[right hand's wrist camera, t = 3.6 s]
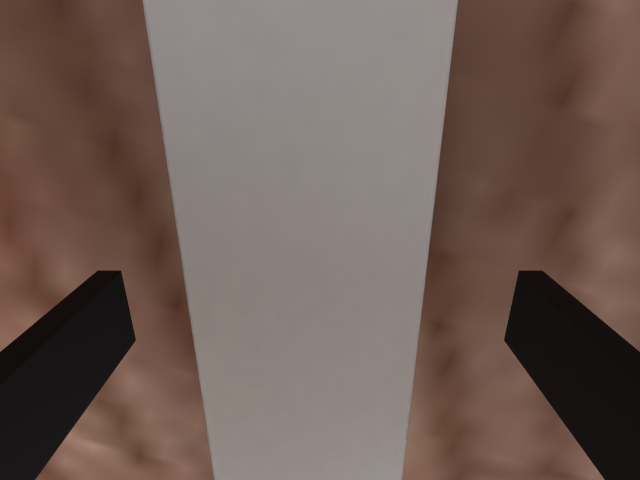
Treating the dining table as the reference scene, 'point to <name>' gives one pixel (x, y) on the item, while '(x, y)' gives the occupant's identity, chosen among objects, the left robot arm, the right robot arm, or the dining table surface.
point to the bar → (303, 219)
